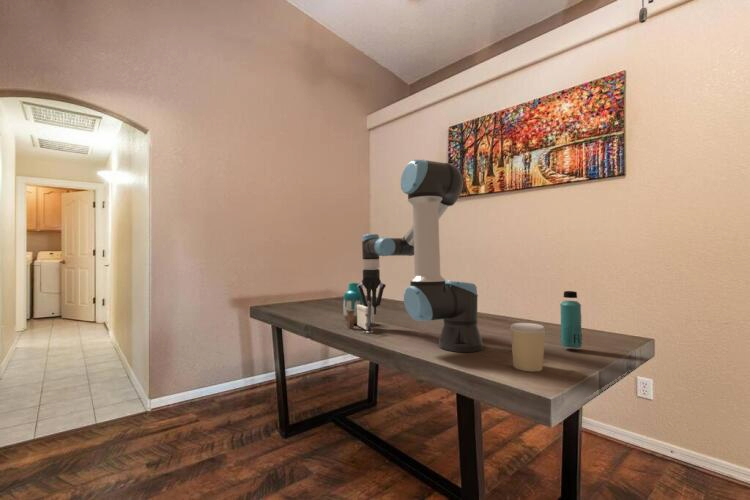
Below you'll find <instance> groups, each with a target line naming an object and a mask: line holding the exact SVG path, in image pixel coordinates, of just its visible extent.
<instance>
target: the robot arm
mask: <svg viewBox="0 0 750 500" xmlns="http://www.w3.org/2000/svg"><path fill="white" fill-rule="evenodd" d="M400 188H401V189H400V190H401V191H402V192H403V193H404V194H405V195H407V201H408V202H409V204H411V206H412V221H413V222H412V224H411V225H410V227H409V229H408V230H407V231H406V232H405V234H404V235H403V237H384V236H383V237H380V235H379V234H377V233H367V234H363V235H362V240H361V241H362V242H361V244H362V245H361V247H362V248H361V249H362V255H361V256H362V280H361V282H360V284H359V285H357V287H358V289H359V291H360V294H361V298H362V302H363V305H364V306H366V307H368V305H367V302H368V301H370V302H371V324H372V323H375V315H377V307H379V306H381V302H382V297H383V295H384V289H385V288H386V287H387V286H386V284H385V283H383V282H382V281H381V278H380V276H381V275H380V273H381V272H380V257H388V256H389V257H392V256H396V257H397V256H406V257H407V256H408V257H413V256H414V257H413V258H414V259H413V260H414V261H413V262H414V265H413V266H414V275H413V277H412V278H411V279H410V283H409V284H410V286H408V287H406V289H405V290H404V294H403V303H404V304H403V305H404V308H405V311H406V312H407V314H408V315H409V317H410V318H411V319H412V320H414V321H417V322H430V321H438V320H443V325H442V328H441V333H440V337H439V338H438V347H439V348H440V349H442V350H446V351H450V352H456V353H473V352H479V351H481V350H483V347H484V342H483V339H482V337H481V332H480V330H479V327H478V298H479V295H478V289H477V285H476V284H475V283H472V282H464V281H456V280H446V279H445V278H444V277H443V276H442V275H441V256H440V254H441V253H440V252H441V251H440V227H439V225H440V219H441V217H442V216H443V215H444V213H445V212H446V211H447V210H448V208H449V207H453V206H454V205H455V203H456V202H457V201H458V199H459V198H460V196H461V194H462V191H463V188H464V178H463V176H462V173H461V170H460V169H459V168H458V167H456V165H454V164H452V163H448V162H447V163H446V162H440V161H434V160H433V161H432V160H426V159H412V160H411V161H409V162H408V163H407V164H406V165H405V167H404V169H403V171H402V173H401V177H400ZM378 287H379V288H378ZM364 288H365V289H366V291H365V292H366V294H365V292H364ZM378 289H379V290H378ZM377 290H378V293H377ZM364 294H365V295H364Z"/></svg>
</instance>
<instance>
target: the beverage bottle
mask: <svg viewBox="0 0 750 500" xmlns="http://www.w3.org/2000/svg"><path fill="white" fill-rule="evenodd" d="M563 298H565V299H566V298H567V299H578V292H577V291H572V290H567V291H563ZM581 307H582V304H580V302H579V301H577V300H563V301H562V302H561V303H560V328H559V329H560V332H559V334H560V338H559V339H560V344H561V346H563V347H565V348H571V349H579V348H581V347H582V345H583V343H582V342H583V334H582V323H583V322H582V308H581Z"/></svg>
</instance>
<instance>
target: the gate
mask: <svg viewBox="0 0 750 500" xmlns="http://www.w3.org/2000/svg"><path fill="white" fill-rule="evenodd" d="M356 326H358V327H360V328H362V329H364V330H365V331H368V307H366V306H363V305H357V323H356Z"/></svg>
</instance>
